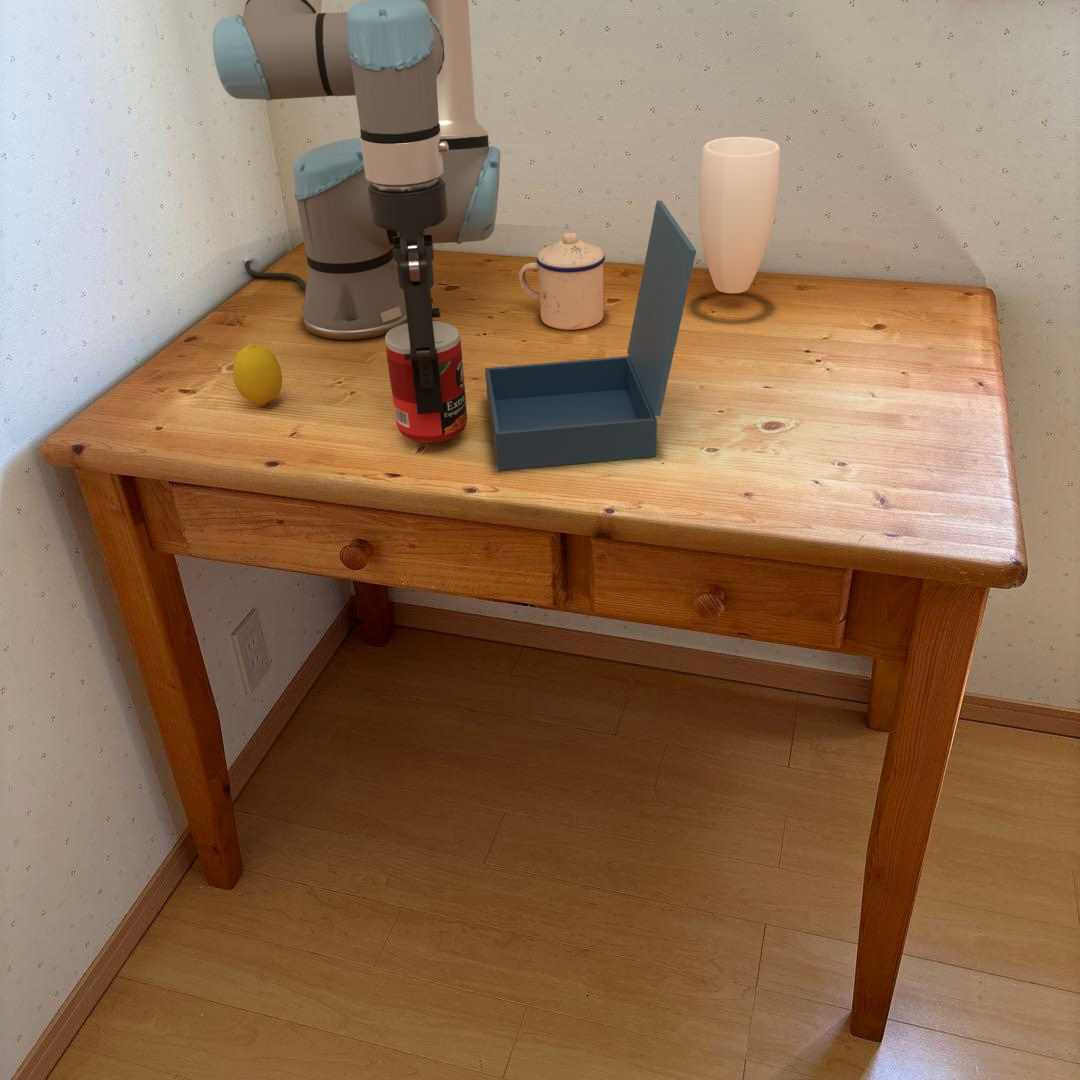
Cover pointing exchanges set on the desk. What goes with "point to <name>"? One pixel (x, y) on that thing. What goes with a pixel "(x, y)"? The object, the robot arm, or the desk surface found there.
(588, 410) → the box
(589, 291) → the teacup with lid
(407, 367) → the canned food
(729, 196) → the cup
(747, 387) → the desk surface
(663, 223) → the lunchbox lid
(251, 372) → the lemon
